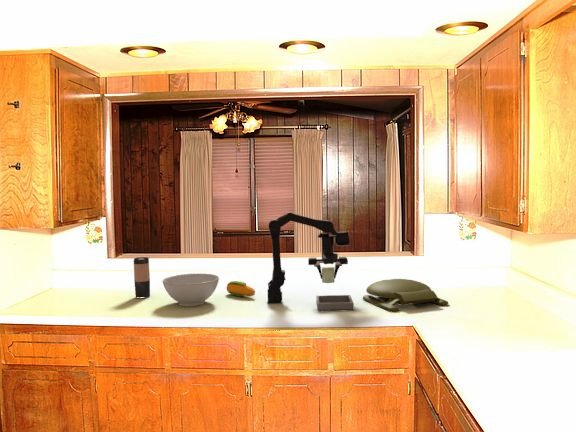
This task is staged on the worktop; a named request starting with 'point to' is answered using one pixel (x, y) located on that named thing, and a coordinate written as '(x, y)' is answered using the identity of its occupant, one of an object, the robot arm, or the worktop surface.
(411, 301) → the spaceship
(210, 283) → the decorative bowl
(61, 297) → the worktop surface
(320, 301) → the serving bin
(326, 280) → the salad tub
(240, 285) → the corn
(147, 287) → the travel mug
